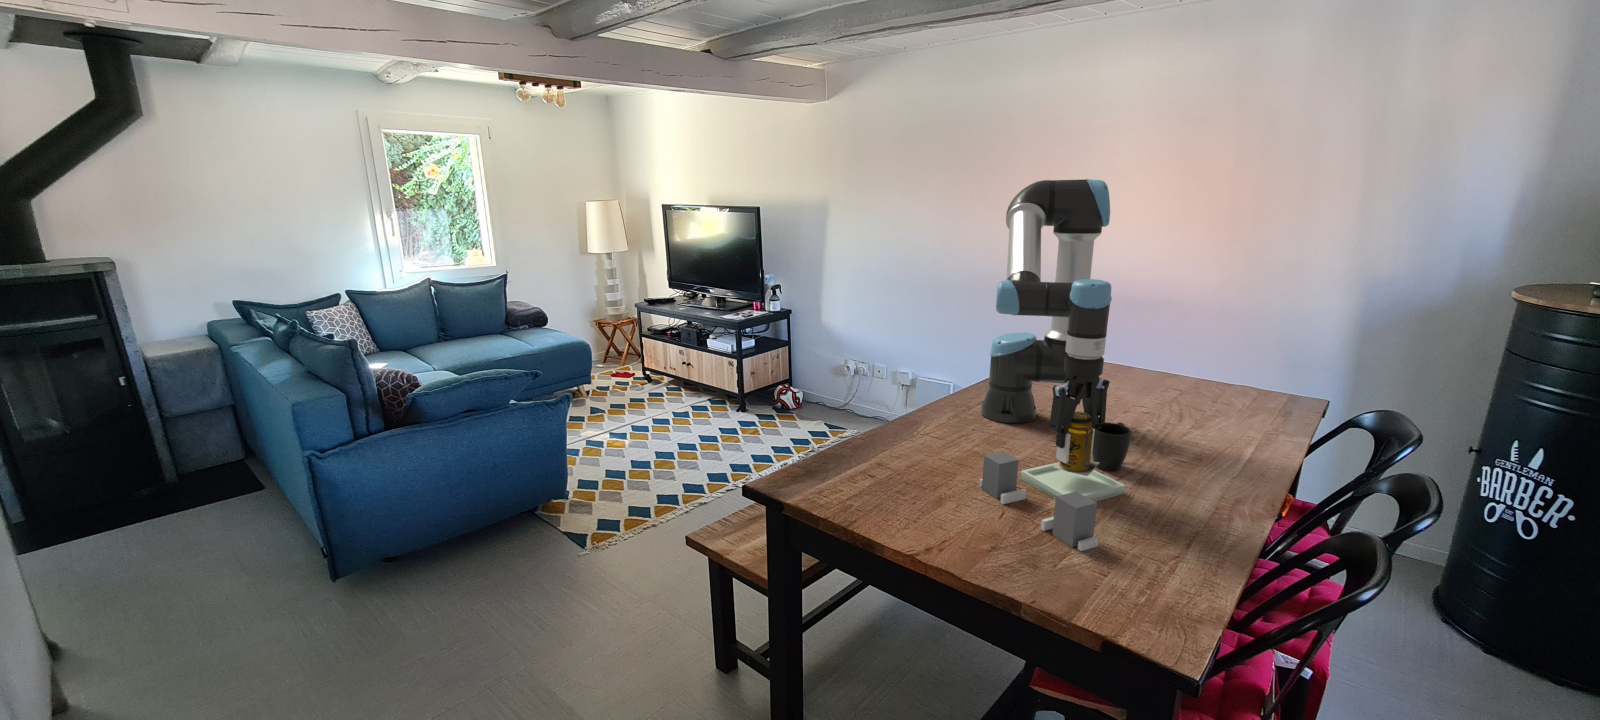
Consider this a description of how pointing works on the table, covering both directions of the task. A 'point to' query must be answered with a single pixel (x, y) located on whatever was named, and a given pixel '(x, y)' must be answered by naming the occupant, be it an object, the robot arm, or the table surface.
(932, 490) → the table surface
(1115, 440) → the mug
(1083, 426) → the condiment
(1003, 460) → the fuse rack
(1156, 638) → the table surface
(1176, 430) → the table surface
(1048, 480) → the tray
